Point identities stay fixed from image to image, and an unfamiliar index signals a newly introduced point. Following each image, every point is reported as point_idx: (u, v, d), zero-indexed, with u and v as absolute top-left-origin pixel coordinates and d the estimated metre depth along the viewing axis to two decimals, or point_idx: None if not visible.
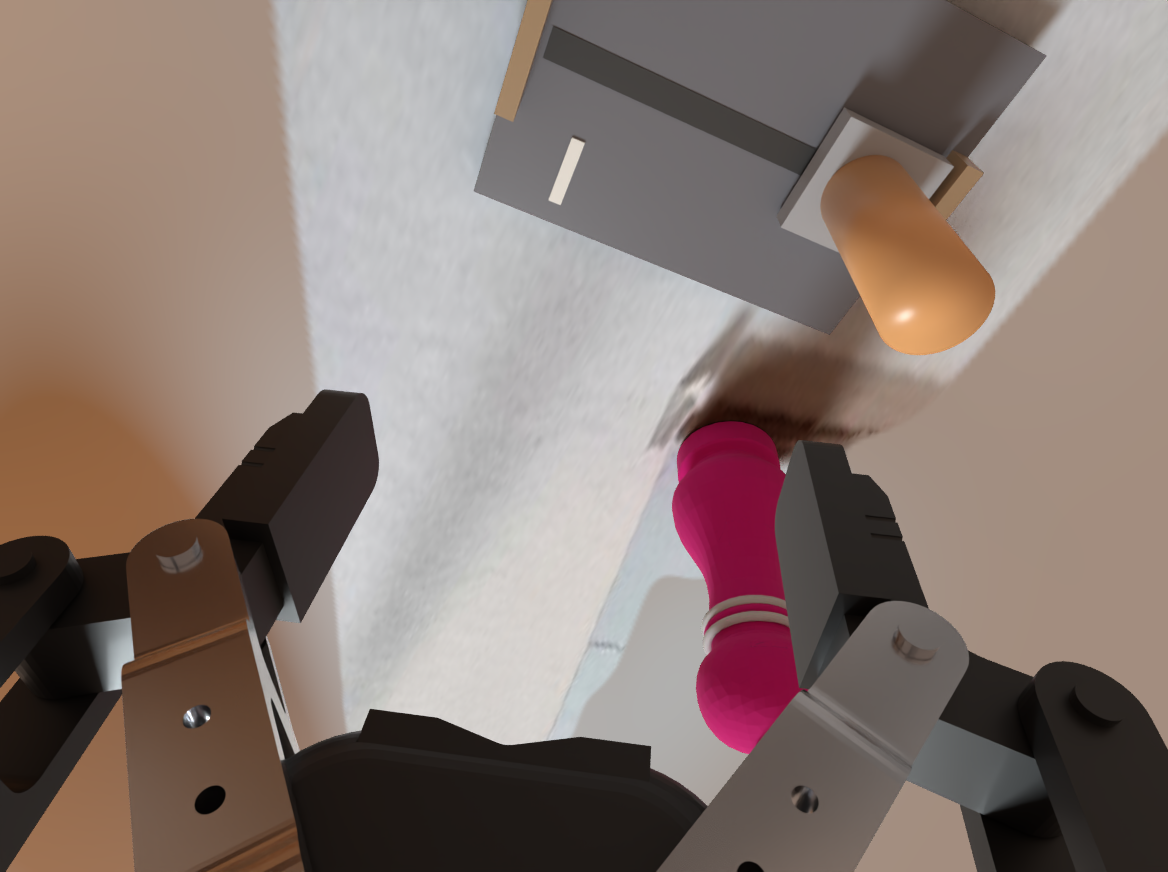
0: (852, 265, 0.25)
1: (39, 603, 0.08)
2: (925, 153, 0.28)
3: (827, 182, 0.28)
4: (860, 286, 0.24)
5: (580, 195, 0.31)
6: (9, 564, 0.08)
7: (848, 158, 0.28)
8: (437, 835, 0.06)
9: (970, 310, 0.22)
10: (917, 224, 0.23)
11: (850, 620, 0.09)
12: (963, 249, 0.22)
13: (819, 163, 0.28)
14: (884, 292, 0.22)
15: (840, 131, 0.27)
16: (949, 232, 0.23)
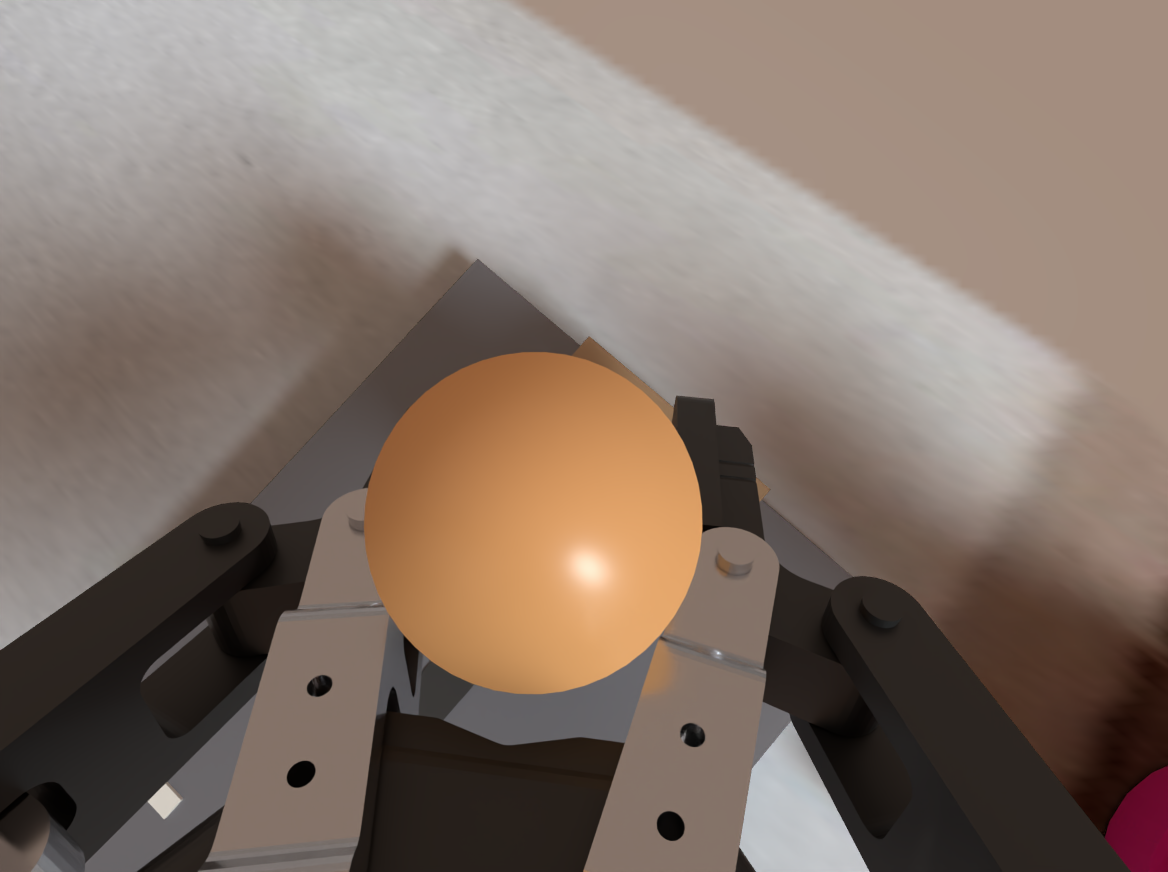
0: None
1: (251, 563, 0.09)
2: None
3: None
4: None
5: None
6: (219, 527, 0.09)
7: None
8: (437, 835, 0.06)
9: (568, 415, 0.07)
10: None
11: None
12: None
13: None
14: (433, 658, 0.07)
15: None
16: None
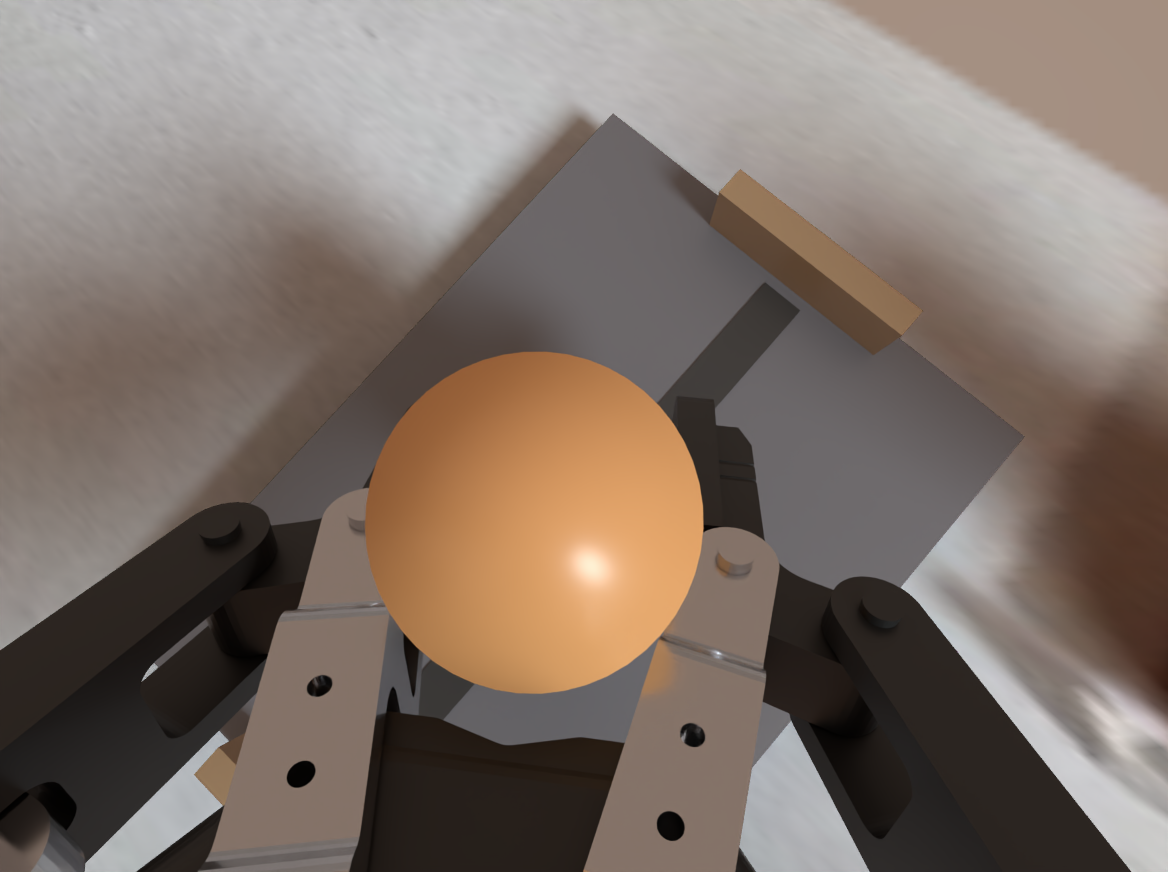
0: None
1: (252, 563, 0.09)
2: None
3: None
4: None
5: None
6: (219, 528, 0.09)
7: None
8: (437, 835, 0.06)
9: (569, 415, 0.07)
10: None
11: None
12: None
13: None
14: (434, 656, 0.07)
15: None
16: None
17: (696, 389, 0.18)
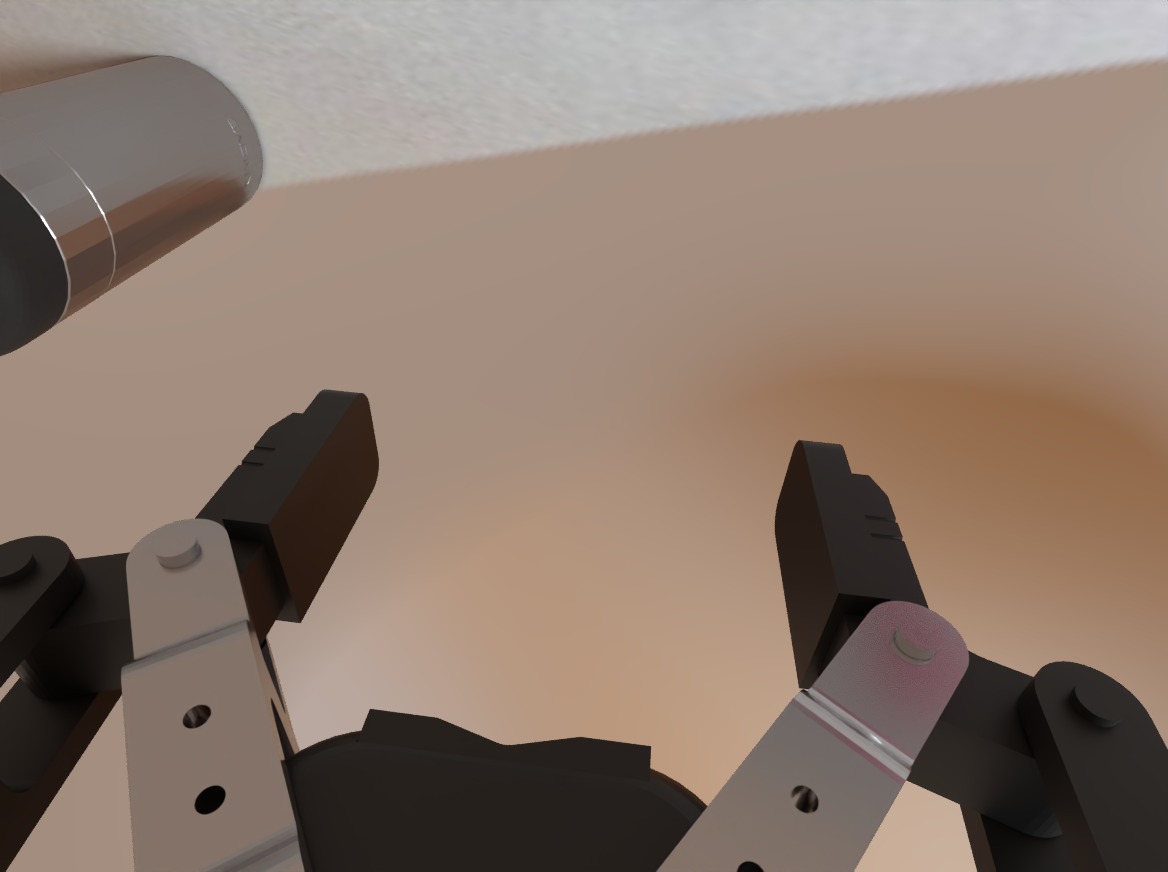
0: None
1: (39, 603, 0.08)
2: None
3: None
4: None
5: None
6: (10, 564, 0.08)
7: None
8: (437, 835, 0.06)
9: None
10: None
11: (850, 620, 0.09)
12: None
13: None
14: None
15: None
16: None
17: None
